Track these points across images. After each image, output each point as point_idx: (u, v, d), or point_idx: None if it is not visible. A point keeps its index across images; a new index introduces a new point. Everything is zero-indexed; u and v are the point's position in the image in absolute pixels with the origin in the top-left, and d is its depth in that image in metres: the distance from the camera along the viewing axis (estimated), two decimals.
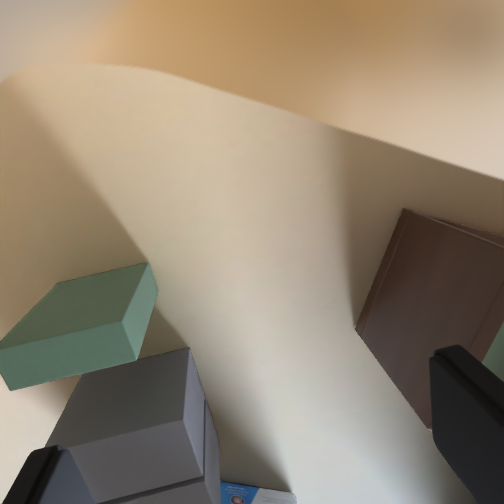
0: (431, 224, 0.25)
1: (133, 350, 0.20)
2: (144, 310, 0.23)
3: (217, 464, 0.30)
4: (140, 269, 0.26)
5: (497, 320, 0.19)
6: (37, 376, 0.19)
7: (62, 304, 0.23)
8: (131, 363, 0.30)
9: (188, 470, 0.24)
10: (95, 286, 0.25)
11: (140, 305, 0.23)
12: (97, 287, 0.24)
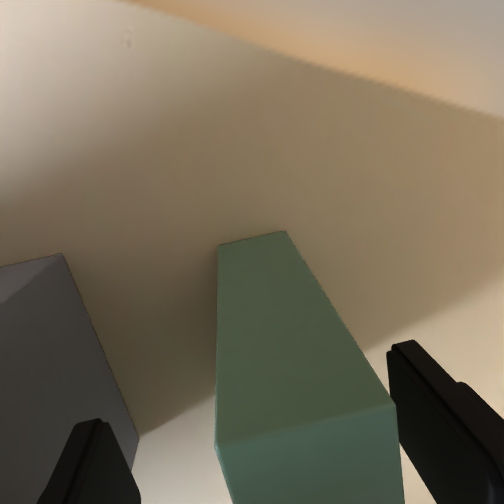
0: None
1: None
2: None
3: None
4: None
5: None
6: None
7: None
8: (99, 353, 0.14)
9: None
10: None
11: None
12: None
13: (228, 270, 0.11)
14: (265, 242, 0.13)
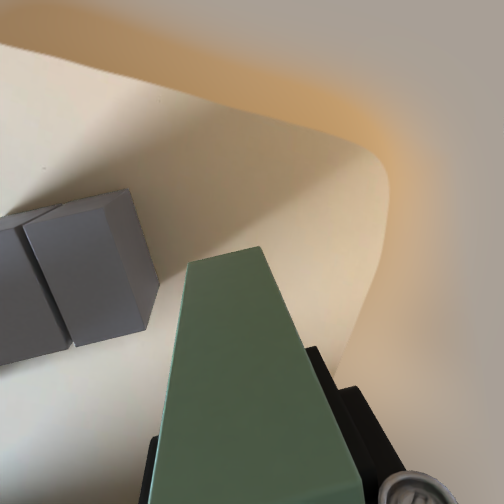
0: None
1: None
2: None
3: None
4: None
5: None
6: None
7: None
8: (143, 236, 0.31)
9: (83, 335, 0.25)
10: None
11: None
12: None
13: (193, 293, 0.10)
14: (237, 260, 0.12)
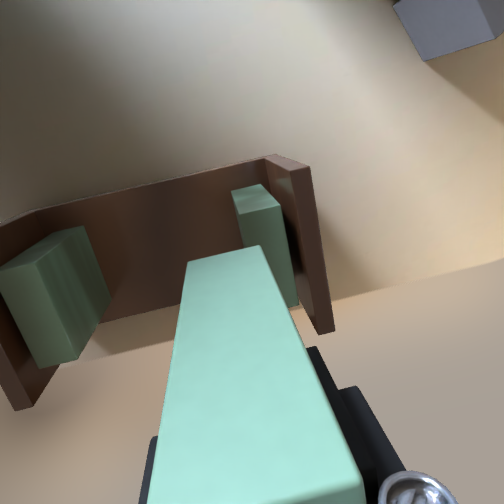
0: None
1: None
2: None
3: None
4: None
5: (316, 286, 0.23)
6: None
7: None
8: None
9: None
10: None
11: None
12: None
13: (193, 292, 0.10)
14: (237, 258, 0.12)
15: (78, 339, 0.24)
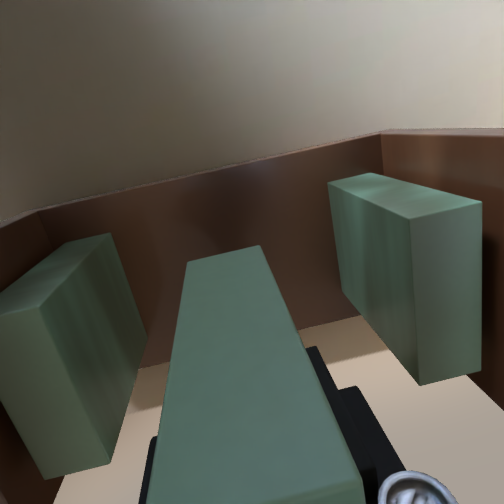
0: None
1: None
2: None
3: None
4: None
5: None
6: None
7: None
8: None
9: None
10: None
11: None
12: None
13: (193, 292, 0.10)
14: (236, 258, 0.12)
15: (110, 425, 0.15)
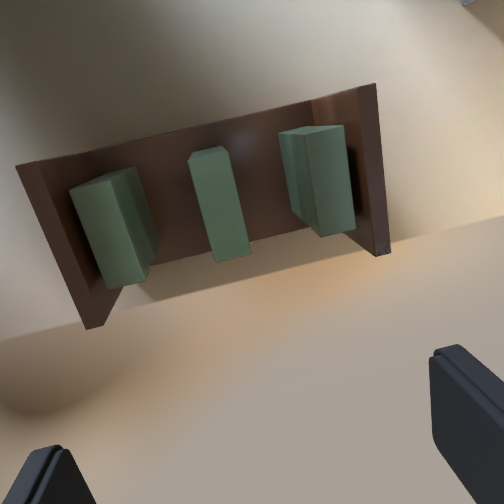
0: None
1: (224, 260, 0.25)
2: None
3: None
4: None
5: (376, 206, 0.24)
6: (202, 186, 0.23)
7: None
8: None
9: None
10: None
11: None
12: None
13: (195, 153, 0.28)
14: (211, 148, 0.30)
15: (143, 264, 0.25)
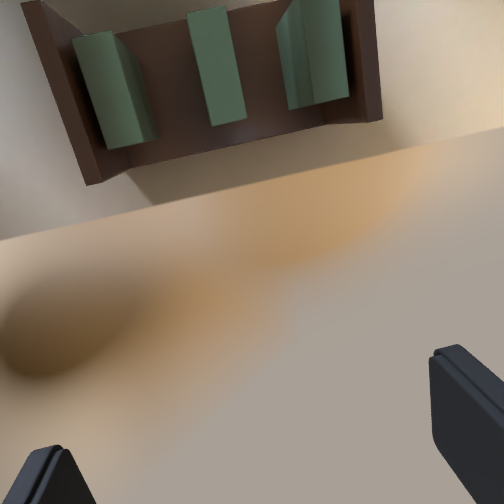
0: None
1: (220, 123, 0.26)
2: None
3: None
4: None
5: (368, 66, 0.25)
6: (200, 41, 0.24)
7: None
8: None
9: None
10: None
11: (230, 122, 0.29)
12: None
13: None
14: None
15: (142, 128, 0.26)
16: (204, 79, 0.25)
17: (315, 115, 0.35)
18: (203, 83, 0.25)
